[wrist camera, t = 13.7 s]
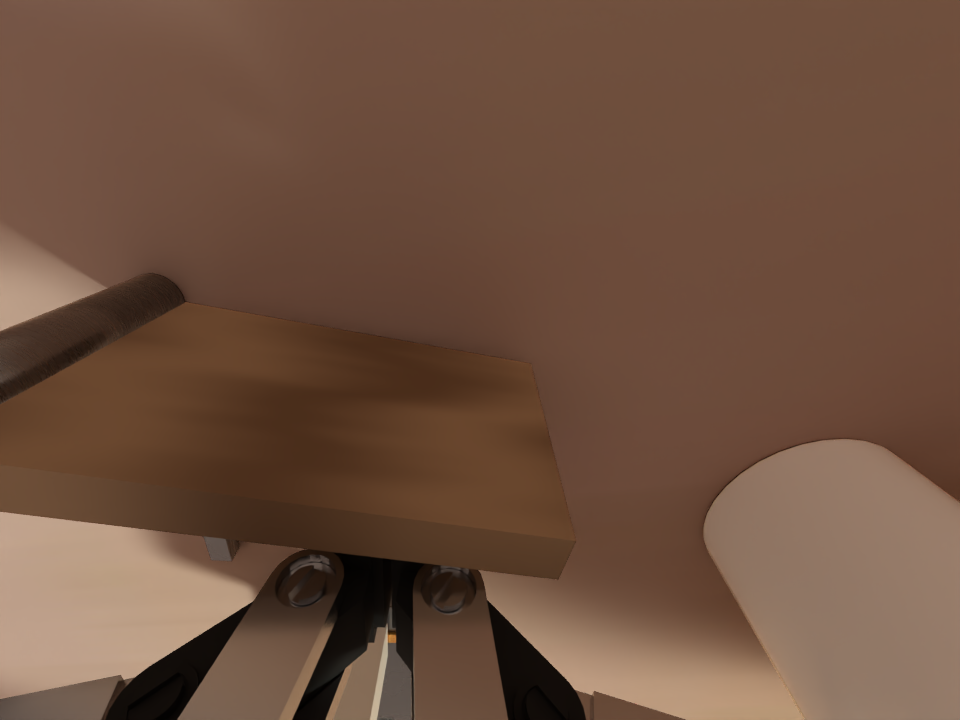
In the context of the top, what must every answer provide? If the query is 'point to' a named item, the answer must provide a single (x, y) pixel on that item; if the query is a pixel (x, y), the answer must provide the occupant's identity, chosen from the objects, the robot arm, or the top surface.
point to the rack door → (295, 444)
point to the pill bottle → (846, 579)
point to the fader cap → (365, 682)
